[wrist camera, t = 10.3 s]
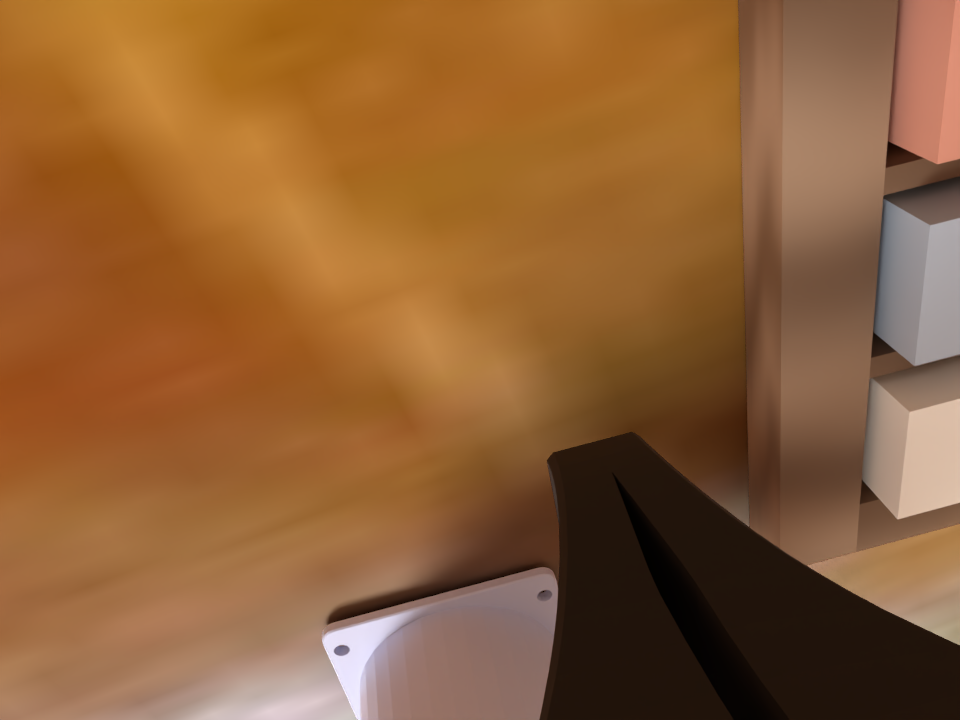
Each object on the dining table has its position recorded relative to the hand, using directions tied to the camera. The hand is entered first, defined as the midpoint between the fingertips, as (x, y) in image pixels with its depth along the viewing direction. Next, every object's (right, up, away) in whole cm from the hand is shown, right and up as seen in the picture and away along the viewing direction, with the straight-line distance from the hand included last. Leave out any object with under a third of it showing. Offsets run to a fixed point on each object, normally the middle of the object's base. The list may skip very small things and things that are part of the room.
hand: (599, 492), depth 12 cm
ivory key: (+12, +1, +13) cm, 18 cm away
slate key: (+11, +6, +10) cm, 16 cm away
